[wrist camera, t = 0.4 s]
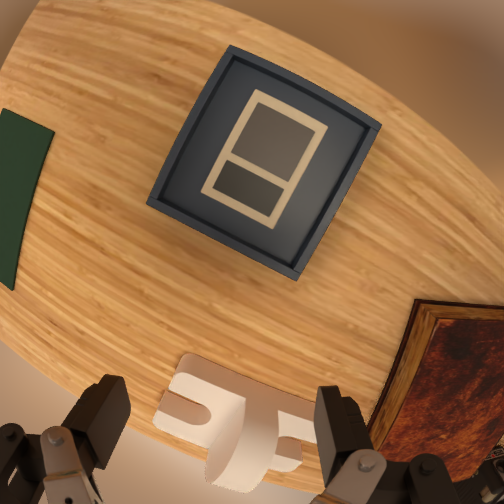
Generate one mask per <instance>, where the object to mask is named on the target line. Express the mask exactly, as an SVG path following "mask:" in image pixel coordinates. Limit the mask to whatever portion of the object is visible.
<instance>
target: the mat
mask: <svg viewBox="0 0 504 504" xmlns="http://www.w3.org/2000/svg"><path fill="white" fill-rule="evenodd" d="M54 134H55V132H54V131H52V130H49V129H47V128H45V127H43V126H41V125H39V124H37V123H35V122H33V121H30V120H28V119H26V118H24V117H22V116H20V115H18V114H15V113H13V112H11V111H9V110H7V109H5V108H3V109H2V111H1V114H0V282H1V283H3V284H4V285H5V286H6V287H8V288H9V289H10V290H11V291H13V290H14V284H15V278H16V271H17V265H18V260H19V254H20V249H21V244H22V239H23V235H24V230H25V226H26V222H27V218H28V214H29V210H30V206H31V203H32V199H33V196H34V192H35V189H36V185H37V182H38V179H39V176H40V173H41V170H42V167H43V164H44V161H45V158H46V155H47V152H48V150H49V147H50V144H51V142H52V139H53V136H54Z"/></svg>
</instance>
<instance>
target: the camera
mask: <svg viewBox="0 0 504 504" xmlns="http://www.w3.org/2000/svg"><path fill="white" fill-rule="evenodd" d="M453 485H454V487H455V489H456V492H457V494H458V497H459V499H460V502H461V504H504V448H503V447H502V446H500V447H497V448H494V449H493V450H492V452H491V453H490V454H489V456H488V457H487V458H486V460H485V461H484V462H483V464H482V465H481V466H480V467H479V469H478V470H477V471H476V472H475V474H474V475H473V476H472V477H471V478H469V479H466V480H463V481H460V482H456V483H453Z"/></svg>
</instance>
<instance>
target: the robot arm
mask: <svg viewBox="0 0 504 504" xmlns="http://www.w3.org/2000/svg"><path fill="white" fill-rule="evenodd" d="M130 412H131V404H130V400H129V396H128V393H127V389H126V385H125V381H124V378H123V377H121V376H115V375H109V374H105V375H104V376H103V377H102V379H101V380H100V382H99V383H98V384H95V383H94V384H93V385H91V386H90V387H88V388H87V389H85V391H84V392H83V394H82V395H81V397H80V399H78V401H77V403H76V405H74V407H73V408H72V410H71V411H70V413H69V414H68V415H67V417H66V419H65V420H64V421H63V423H62V424H61V426H53V427H50V428H48V429H46V430H45V431H44V432H43V433H42V435H35V434H25V432H24V430H23V428H22V427H21V426H20V425H18V424H15V423H8V424H5V425H3V426H1V427H0V504H38V502H39V500H40V498H41V496H42V494H43V492H44V490H45V491H46V495H47V500H48V503H49V504H105V502H104V500H103V498H102V495H101V493H100V490H99V488H98V485H97V483H96V480H95V478H94V475H93V473H92V472H93V470H94V468H99V469H102V470H104V469H105V468H106V465H107V463H108V461H109V459H110V456H111V455H112V452H113V450H114V448H115V446H116V444H117V442H118V439H119V437H120V435H121V433H122V431H123V429H124V427H125V425H126V423H127V420H128V418H129V416H130ZM314 430H315V435H316V441H317V446H318V452H319V457H320V463H321V468H322V474H323V480H324V486H325V488H326V489H325V490H324V492H323V493H322V494H321V495H320V494H318V495H317V496H316V497H315V498H314V499H313V500H312V501H311V503H310V504H461V502H460V499H459V497H458V494H457V492H456V489H455V487H454V485H453V482H452V480H451V477H450V475H449V473H448V470H447V468H446V466H445V463H444V462H443V460H442V459H441V458H440V457H438V456H437V455H434V454H430V453H423V454H419V455H417V456H415V457H414V458H413V459H412V460H411V462H396V461H390V460H387V459H385V457H384V456H383V455H382V454H381V453H379V452H378V451H375V449H374V447H373V444H372V441H371V438H370V436H369V433H368V430H367V427H366V425H365V422H364V419H363V417H362V415H361V411H360V408H359V406H358V404H357V403H356V402H355V401H354V400H353V399H352V398H351V397H341V394H340V391H339V388H338V386H337V385H335V386H319V387H318V391H317V397H316V404H315V410H314ZM15 467H16V469H17V472H16V473H15V475H14V477H13V478H12V480H11V482H10V484H9V486H8V480H9V478H10V476H11V474H12V473H13V471H14V469H15Z"/></svg>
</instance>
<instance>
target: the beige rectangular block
mask: <svg viewBox="0 0 504 504" xmlns="http://www.w3.org/2000/svg"><path fill="white" fill-rule="evenodd" d="M327 129H328V126H326V125H324V124H323V123H321V122H319V121H317V120H316V119H314V118H312V117H310V116H308V115H306V114H305V113H303V112H301V111H299V110H297V109H295V108H293V107H291V106H289V105H288V104H286V103H284V102H282V101H280V100H278V99H276V98H274V97H272V96H270V95H268V94H265V93H263V92H261V91H259V90H257V89H255V90H254V92H253V94H252V96H251V97H250V99H249V101H248V103H247V105H246V106H245V108H244V110H243V112H242V113H241V115H240V117H239V119H238V121H237V122H236V124H235V126H234V128H233V130H232V132H231V134H230V135H229V137H228V139H227V141H226V143H225V145H224V147H223V149H222V150H221V152H220V154H219V156H218V158H217V160H216V162H215V164H214V166H213V168H212V170H211V172H210V174H209V176H208V178H207V180H206V182H205V184H204V186H203V188H202V190H201V193H203V194H205V195H207V196H209V197H211V198H213V199H215V200H217V201H219V202H221V203H223V204H225V205H227V206H229V207H231V208H232V209H234V210H236V211H238V212H240V213H242V214H244V215H246V216H248V217H250V218H252V219H254V220H256V221H258V222H259V223H261V224H263V225H265V226H267V227H269V228H271V229H273V228H274V227H275V225H276V223H277V221H278V219H279V217H280V216H281V214H282V212H283V210H284V208H285V206H286V205H287V203H288V201H289V199H290V197H291V195H292V193H293V192H294V190H295V188H296V186H297V184H298V182H299V181H300V179H301V177H302V175H303V173H304V171H305V169H306V168H307V166H308V164H309V162H310V160H311V158H312V157H313V155H314V153H315V151H316V149H317V147H318V145H319V144H320V142H321V140H322V138H323V136H324V134H325V132H326V131H327Z"/></svg>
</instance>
